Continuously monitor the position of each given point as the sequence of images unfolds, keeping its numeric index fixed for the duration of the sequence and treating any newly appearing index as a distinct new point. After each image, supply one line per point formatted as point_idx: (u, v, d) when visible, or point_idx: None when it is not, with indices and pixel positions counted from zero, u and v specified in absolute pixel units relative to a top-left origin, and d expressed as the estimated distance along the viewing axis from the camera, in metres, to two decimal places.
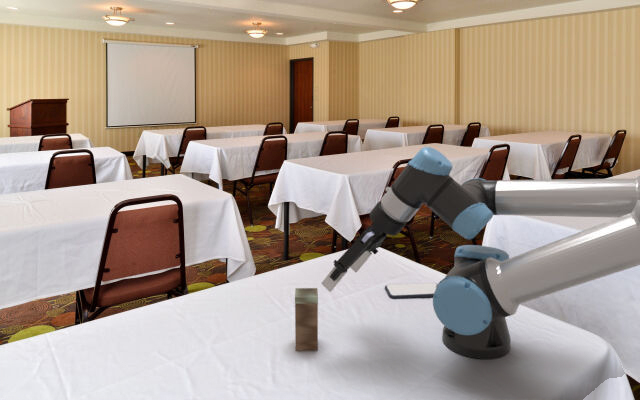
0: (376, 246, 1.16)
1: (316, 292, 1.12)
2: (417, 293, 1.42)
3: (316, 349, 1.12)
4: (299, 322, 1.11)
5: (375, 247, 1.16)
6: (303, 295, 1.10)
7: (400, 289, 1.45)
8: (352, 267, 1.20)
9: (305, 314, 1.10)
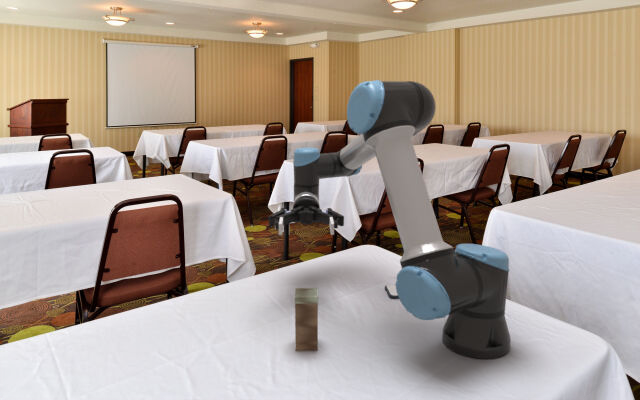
0: (328, 214, 1.27)
1: (316, 292, 1.12)
2: None
3: (316, 349, 1.12)
4: (299, 322, 1.11)
5: (327, 215, 1.27)
6: (303, 295, 1.10)
7: None
8: (330, 229, 1.19)
9: (305, 314, 1.10)
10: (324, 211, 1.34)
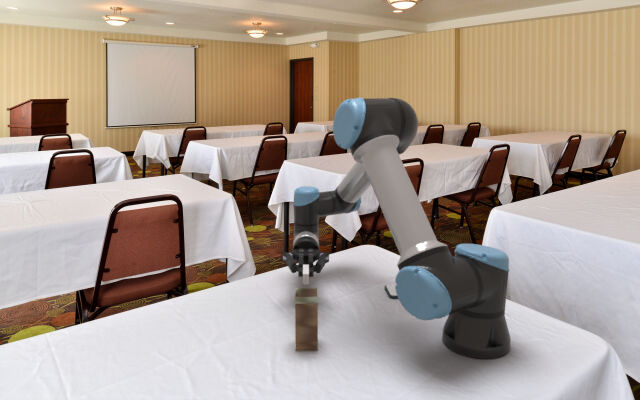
0: (311, 260, 1.29)
1: (316, 292, 1.12)
2: None
3: (316, 349, 1.12)
4: (299, 322, 1.11)
5: (309, 260, 1.29)
6: (303, 295, 1.10)
7: None
8: None
9: (305, 314, 1.10)
10: None
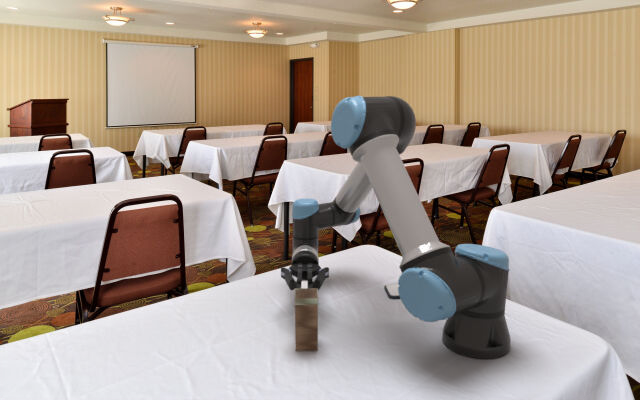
0: (310, 276, 1.24)
1: (316, 293, 1.11)
2: None
3: (316, 349, 1.12)
4: (298, 323, 1.10)
5: (308, 277, 1.24)
6: (303, 296, 1.10)
7: None
8: None
9: (305, 316, 1.10)
10: None
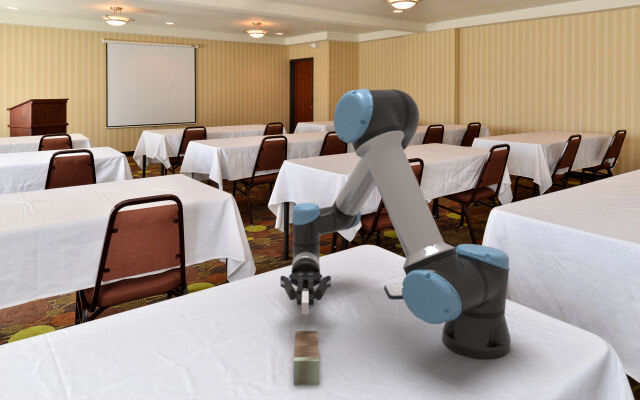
0: (311, 286, 1.18)
1: (317, 372, 0.99)
2: None
3: None
4: None
5: (309, 286, 1.18)
6: (303, 379, 0.99)
7: (399, 289, 1.45)
8: None
9: None
10: None
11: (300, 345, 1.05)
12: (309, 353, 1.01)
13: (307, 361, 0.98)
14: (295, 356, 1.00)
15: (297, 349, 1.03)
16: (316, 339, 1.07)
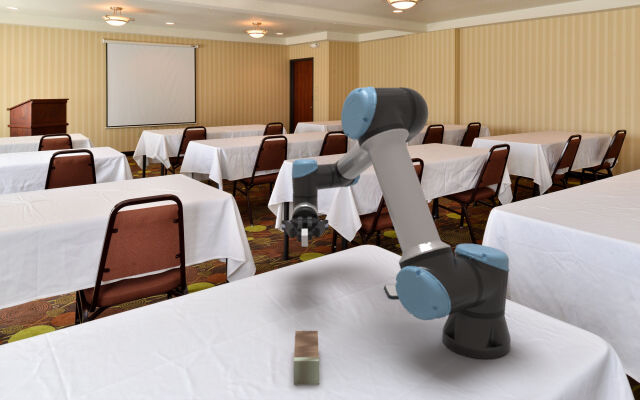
0: (310, 226, 1.27)
1: (317, 372, 0.99)
2: None
3: None
4: None
5: (308, 226, 1.27)
6: (303, 379, 0.99)
7: None
8: None
9: None
10: None
11: (300, 345, 1.05)
12: (309, 353, 1.01)
13: (307, 361, 0.98)
14: (295, 356, 1.00)
15: (297, 349, 1.03)
16: (316, 339, 1.07)
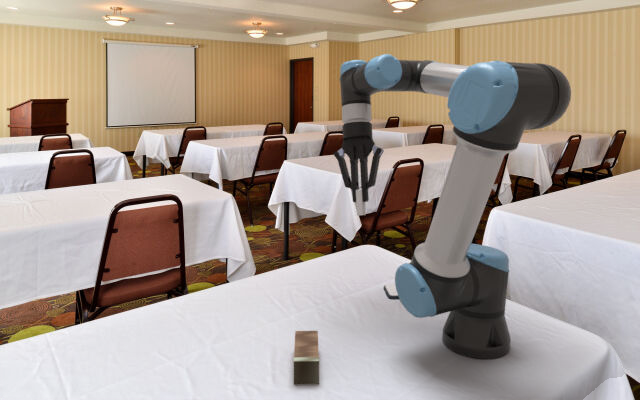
0: (363, 176, 1.25)
1: (317, 372, 0.99)
2: None
3: None
4: None
5: (362, 176, 1.25)
6: (303, 379, 0.99)
7: None
8: None
9: None
10: (375, 147, 1.25)
11: (300, 345, 1.05)
12: (309, 353, 1.01)
13: (307, 361, 0.98)
14: (295, 356, 1.00)
15: (297, 349, 1.03)
16: (316, 339, 1.07)
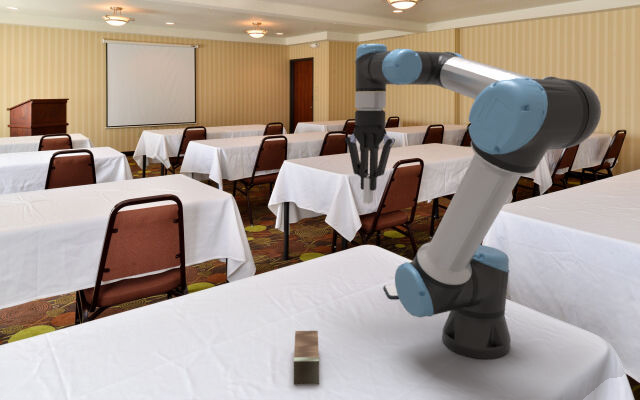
0: (372, 166, 1.24)
1: (317, 372, 0.99)
2: None
3: None
4: None
5: (370, 166, 1.24)
6: (303, 379, 0.99)
7: None
8: None
9: None
10: (386, 137, 1.22)
11: (300, 345, 1.05)
12: (309, 353, 1.01)
13: (307, 361, 0.98)
14: (295, 356, 1.00)
15: (297, 349, 1.03)
16: (316, 339, 1.07)
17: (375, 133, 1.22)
